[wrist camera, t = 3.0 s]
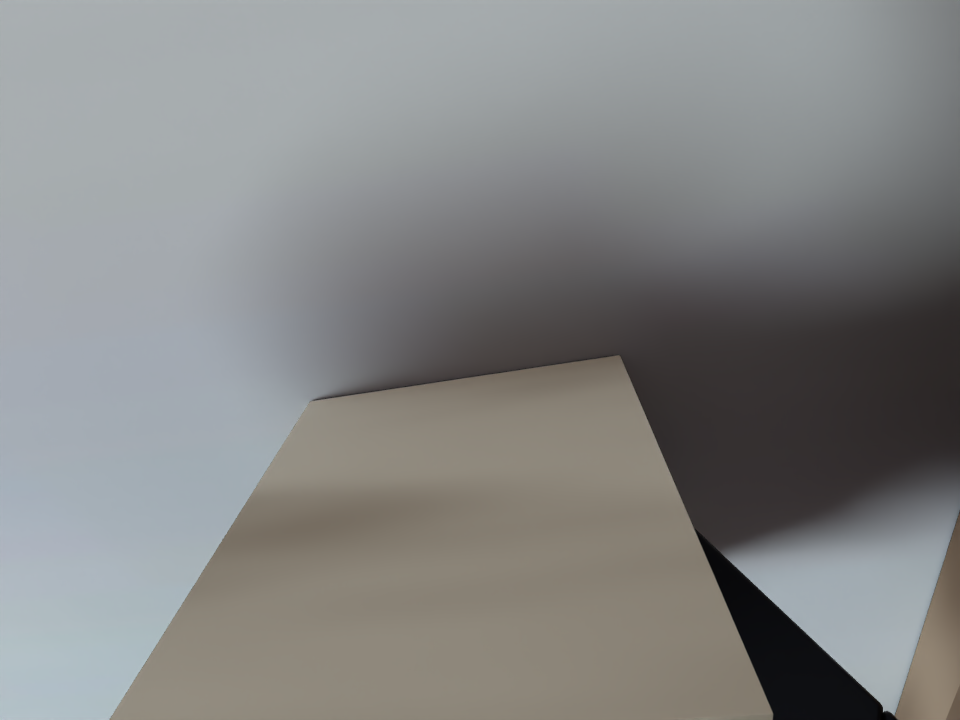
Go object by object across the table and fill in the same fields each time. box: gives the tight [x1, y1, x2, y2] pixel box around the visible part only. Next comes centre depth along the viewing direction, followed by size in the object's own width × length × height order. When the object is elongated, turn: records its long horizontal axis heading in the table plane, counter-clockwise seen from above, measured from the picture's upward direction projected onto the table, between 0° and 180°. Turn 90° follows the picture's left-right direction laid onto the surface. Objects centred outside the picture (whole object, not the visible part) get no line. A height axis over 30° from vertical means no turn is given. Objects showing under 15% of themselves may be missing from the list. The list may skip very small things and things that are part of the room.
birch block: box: [110, 355, 773, 720], centre depth 7 cm, size 5×5×5 cm
